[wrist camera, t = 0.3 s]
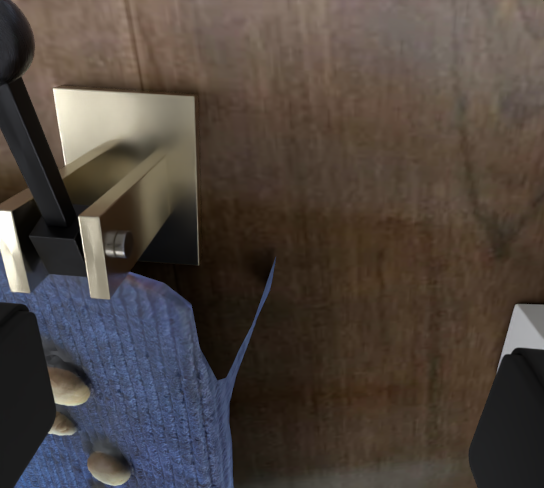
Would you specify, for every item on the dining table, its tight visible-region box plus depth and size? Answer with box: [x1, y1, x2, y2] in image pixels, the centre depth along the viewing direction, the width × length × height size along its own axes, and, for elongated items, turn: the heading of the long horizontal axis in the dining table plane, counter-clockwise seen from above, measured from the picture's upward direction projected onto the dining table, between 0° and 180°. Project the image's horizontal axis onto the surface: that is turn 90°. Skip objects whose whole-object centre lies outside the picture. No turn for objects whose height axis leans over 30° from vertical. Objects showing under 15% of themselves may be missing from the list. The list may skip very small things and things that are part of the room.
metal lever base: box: [0, 85, 202, 300], centre depth 26 cm, size 12×9×12 cm
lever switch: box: [0, 0, 90, 277], centre depth 19 cm, size 13×3×3 cm, turn 177°
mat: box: [0, 250, 276, 488], centre depth 42 cm, size 45×27×12 cm, turn 1°
